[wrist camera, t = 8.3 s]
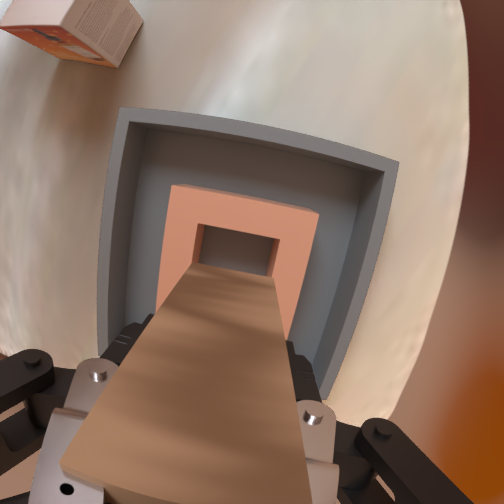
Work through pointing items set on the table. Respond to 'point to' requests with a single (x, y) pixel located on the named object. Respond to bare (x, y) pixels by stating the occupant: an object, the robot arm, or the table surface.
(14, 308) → the table surface
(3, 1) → the table surface
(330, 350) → the walled bin
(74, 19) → the small box
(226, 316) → the walnut peg
